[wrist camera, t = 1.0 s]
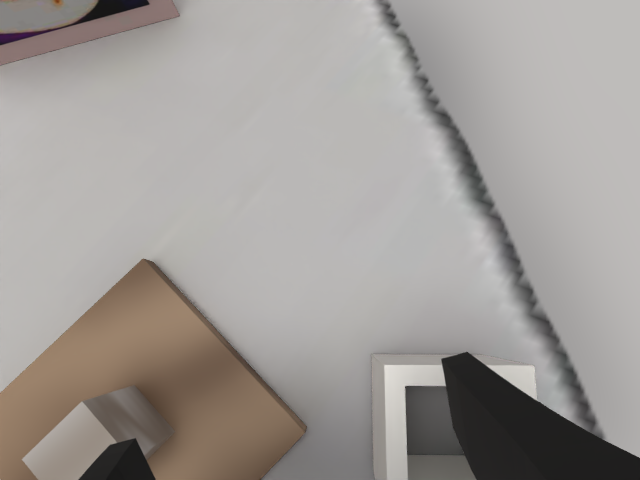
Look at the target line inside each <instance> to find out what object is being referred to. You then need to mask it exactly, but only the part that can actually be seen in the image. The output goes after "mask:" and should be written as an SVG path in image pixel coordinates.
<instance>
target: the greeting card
mask: <svg viewBox="0 0 640 480" xmlns="http://www.w3.org/2000/svg"><path fill="white" fill-rule="evenodd" d="M178 16H180V15H179V13H178V11H177V9H176V7H175V5H174V3H173V1H172V0H0V65H3V64H6V63H10V62H14V61H17V60H21V59H25V58H28V57H32V56H36V55H39V54H43V53H47V52H50V51H54V50H57V49H61V48H65V47H68V46H72V45H76V44H79V43H83V42H87V41H90V40H94V39H98V38H101V37H105V36H109V35H112V34H116V33H119V32H123V31H127V30H130V29H134V28H138V27H141V26H145V25H149V24H152V23H156V22H160V21H163V20H167V19H171V18H174V17H178Z"/></svg>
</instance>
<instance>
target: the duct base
mask: <svg viewBox="0 0 640 480" xmlns="http://www.w3.org/2000/svg"><path fill="white" fill-rule="evenodd" d="M306 428H307V426H306V425H305V424H304V423H303V422H302V421H301V420H300V419H299V418H298V417H297V416H296V415H295V414H294V412H293V411H292V410H291V409H290V408H289V407H288V406H287V405H286V404H285V403H284V402H283V401H282V400H281V399H280V397H279V396H278V395H277V394H276V393H275V392H274V391H273V390H272V389H271V388H270V387H269V386H268V385H267V384H266V383H265V381H264V380H263V379H262V378H261V377H260V376H259V375H258V374H257V373H256V372H255V371H254V370H253V369H252V368H251V366H250V365H249V364H248V363H247V362H246V361H245V360H244V359H243V358H242V357H241V356H240V355H239V354H238V353H237V351H236V350H235V349H234V348H233V347H232V346H231V345H230V344H229V343H228V342H227V341H226V340H225V339H224V338H223V337H222V335H221V334H220V333H219V332H218V331H217V330H216V329H215V328H214V327H213V326H212V325H211V324H210V323H209V322H208V320H207V319H206V318H205V317H204V316H203V315H202V314H201V313H200V312H199V311H198V310H197V309H196V308H195V307H194V305H193V304H192V303H191V302H190V301H189V300H188V299H187V298H186V297H185V296H184V295H183V294H182V293H181V292H180V290H179V289H178V288H177V287H176V286H175V285H174V284H173V283H172V282H171V281H170V280H169V279H168V278H167V277H166V276H165V274H164V273H163V272H162V271H161V270H160V269H159V268H158V267H157V266H156V265H155V264H154V263H153V262H152V261H149V260H146V259H142V260H141V261H140V262H139V263H138V264H137V265H136V266H135V267H133V268H132V269H131V270H130V271H129V272H128V273H127V274H126V275H125V276H124V277H123V278H122V279H121V280H120V281H119V282H118V283H116V284H115V285H114V286H113V287H112V288H111V289H110V290H109V291H108V292H107V293H106V294H105V295H104V296H103V297H102V298H101V299H99V300H98V301H97V302H96V303H95V304H94V305H93V306H92V307H91V308H90V309H89V310H88V311H87V312H86V313H85V314H84V315H83V316H81V317H80V318H79V319H78V320H77V321H76V322H75V323H74V324H73V325H72V326H71V327H70V328H69V329H68V330H67V331H66V332H64V333H63V334H62V335H61V336H60V337H59V338H58V339H57V340H56V341H55V342H54V343H53V344H52V345H51V346H50V347H49V348H47V349H46V350H45V351H44V352H43V353H42V354H41V355H40V356H39V357H38V358H37V359H36V360H35V361H34V362H33V363H32V364H30V365H29V366H28V367H27V368H26V369H25V370H24V371H23V372H22V373H21V374H20V375H19V376H18V377H17V378H16V379H15V380H14V381H12V382H11V383H10V384H9V385H8V386H7V387H6V388H5V389H4V390H3V391H2V392H1V393H0V480H78V479H79V478H80V477H81V476H82V475H83V474H84V472H85V471H86V470H87V469H88V468H89V467H90V466H91V464H92V463H93V462H94V461H95V460H96V459H97V458H98V457H99V456H100V455H101V453H102V452H103V451H104V450H105V449H106V448H107V447H108V446H109V445H111V444H114V443H118V442H122V441H126V440H130V439H134V438H136V440H137V442H138V444H139V446H140V448H141V450H142V452H143V454H144V456H145V458H146V460H147V462H148V464H149V466H150V469H151V471H152V473H153V475H154V477H155V479H156V480H260V479H261V478H262V477H263V476H264V475H265V474H266V473H267V472H268V471H269V470H270V469H271V468H272V467H273V466H274V465H275V464H276V463H277V462H278V461H279V459H280V458H281V457H282V456H283V455H284V454H285V453H286V452H287V451H288V450H289V449H290V448H291V447H292V446H293V445H294V444H295V443H296V442H297V441H298V440H299V439H300V438H301V437H302V435H303V434H304V433H305V432H306Z"/></svg>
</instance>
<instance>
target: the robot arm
mask: <svg viewBox="0 0 640 480" xmlns="http://www.w3.org/2000/svg"><path fill="white" fill-rule="evenodd" d="M441 361H442V367H443V372H444V378H445V383H446V389H447V395H448V400H449V406H450V411H451V417H452V423H453V428H454V431H455V433H456V435H457V438H458V440H459V443H460V445H461V447H462V450H463V452H464V454H465V457H466V459H467V461H468V464H469V466H470V468H471V470H472V472H473V474H474V476H475V478H476V480H640V458H639V457H637V456H635V455H632V454H631V453H629V452H627V451H624V450H623V449H620V448H619V447H617V446H615V445H612V444H610V443H608V442H606V441H604V440H602V439H601V438H599V437H597V436H595V435H593V434H591V433H590V432H588V431H586V430H584V429H583V428H581V427H579V426H577V425H576V424H574V423H572V422H571V421H569V420H567V419H565V418H564V417H562V416H560V415H559V414H557V413H556V412H554V411H552V410H551V409H549V408H547V407H546V406H544V405H543V404H541V403H540V402H538V401H537V400H535V399H534V398H532V397H531V396H529V395H528V394H526V393H524V392H523V391H521V390H520V389H519V388H517V387H516V386H514V385H513V384H511V383H510V382H508V381H507V380H506V379H504V378H503V377H501V376H500V375H499V374H497V373H496V372H494V371H493V370H492V369H490V368H489V367H488V366H486V365H485V364H483V363H482V362H481V361H479V360H478V359H477V358H475V357H474V356H473V355H471V354H469V353H468V352H465V353H461V354H458V355H454V356H450V357H446V358H442V359H441ZM78 480H156V479H155V477H154V475H153V473H152V471H151V469H150V466H149V464H148V462H147V460H146V458H145V456H144V454H143V452H142V450H141V448H140V446H139V444H138V442H137V440H136V438H134V439H130V440H126V441H122V442H118V443H114V444H111V445H109V446H108V447H107V448H106V449H105V450H104V451H103V452H102V453H101V455H100V456H99V457H98V458H97V459H96V460H95V461H94V462H93V463H92V464H91V466H90V467H89V468H88V469H87V470H86V471H85V472H84V474H83V475H82V476H81V477H80V478H79V479H78Z"/></svg>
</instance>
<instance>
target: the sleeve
mask: <svg viewBox="0 0 640 480" xmlns="http://www.w3.org/2000/svg"><path fill="white" fill-rule="evenodd" d="M454 355H458V354H371V369H372V426H373V472H374V475H375V479H376V480H476V478H475V476H474V474H473V472H472V470H471V468H470V466H469V464H468V461H467V459H466V457H465V455H407V436H406V402H405V386H446V383H445V378H444V372H443V367H442V361H441V359H442V358H446V357H450V356H454ZM471 355H473V356H474V357H475V358H477V359H478V360H479V361H481V362H482V363H483V364H485V365H486V366H488V367H489V368H490V369H492V370H493V371H494V372H496V373H497V374H499V375H500V376H501V377H503V378H504V379H506V380H507V381H508V382H510V383H511V384H513V385H514V386H516V387H517V388H519V389H520V390H521V391H523V392H524V393H526V394H528V395H529V396H531V397H532V398H534V399H535V400H537V394H536V381H535V368H534V365H529V364H524V363H520V362H515V361H510V360H505V359H501V358H496V357H491V356H486V355H481V354H471Z"/></svg>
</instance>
